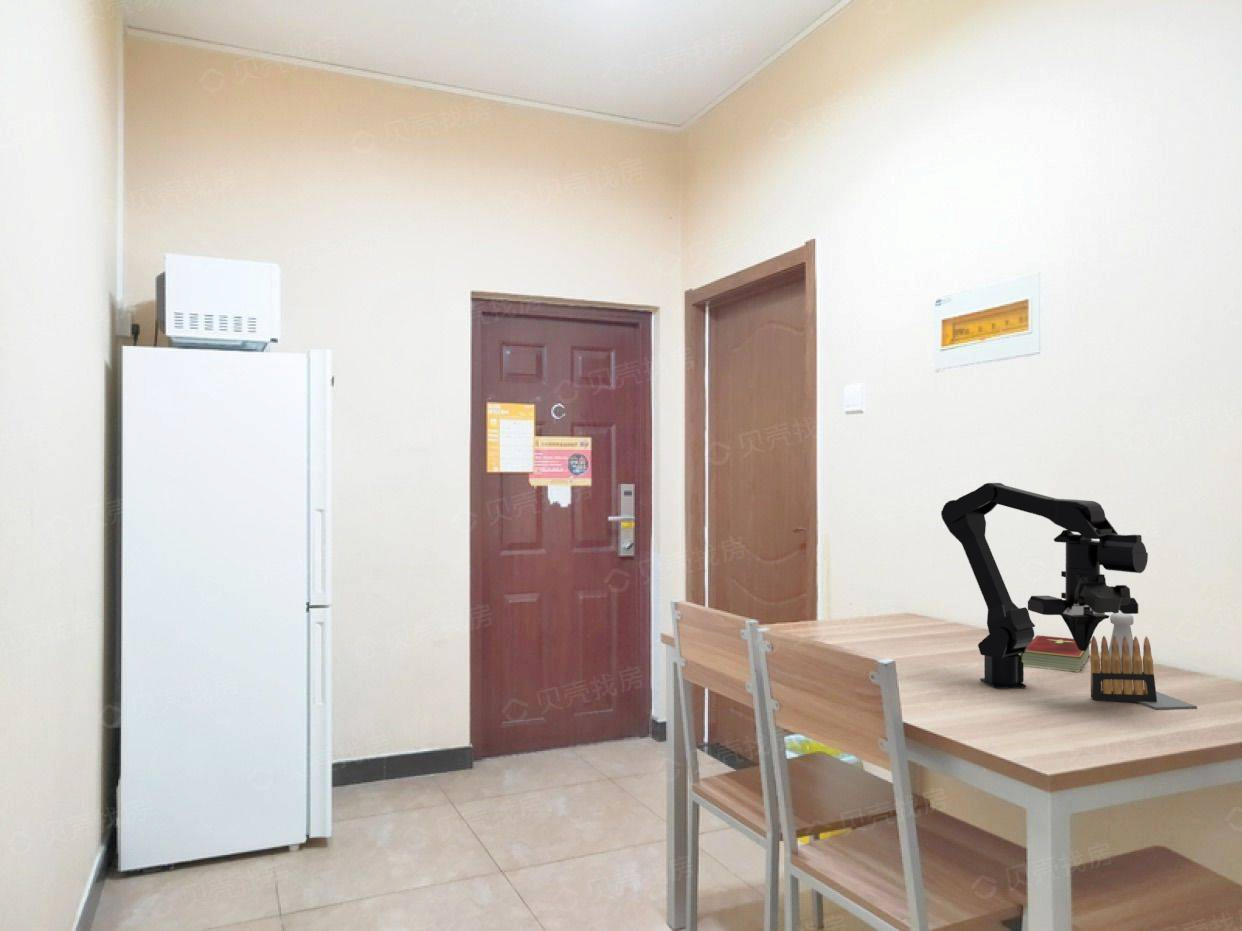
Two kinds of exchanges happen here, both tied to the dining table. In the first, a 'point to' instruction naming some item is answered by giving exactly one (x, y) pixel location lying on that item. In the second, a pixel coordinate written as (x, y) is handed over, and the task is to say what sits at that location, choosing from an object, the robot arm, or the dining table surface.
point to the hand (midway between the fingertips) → (1082, 650)
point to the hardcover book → (1054, 654)
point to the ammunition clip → (1122, 672)
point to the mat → (1167, 703)
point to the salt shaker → (1122, 632)
